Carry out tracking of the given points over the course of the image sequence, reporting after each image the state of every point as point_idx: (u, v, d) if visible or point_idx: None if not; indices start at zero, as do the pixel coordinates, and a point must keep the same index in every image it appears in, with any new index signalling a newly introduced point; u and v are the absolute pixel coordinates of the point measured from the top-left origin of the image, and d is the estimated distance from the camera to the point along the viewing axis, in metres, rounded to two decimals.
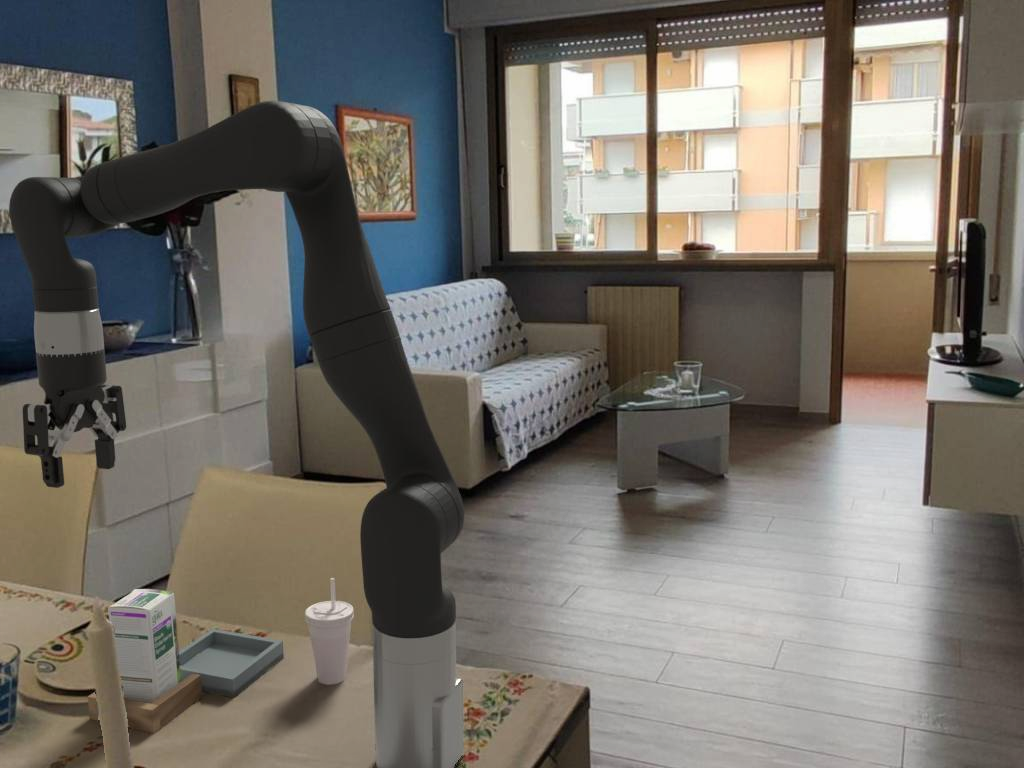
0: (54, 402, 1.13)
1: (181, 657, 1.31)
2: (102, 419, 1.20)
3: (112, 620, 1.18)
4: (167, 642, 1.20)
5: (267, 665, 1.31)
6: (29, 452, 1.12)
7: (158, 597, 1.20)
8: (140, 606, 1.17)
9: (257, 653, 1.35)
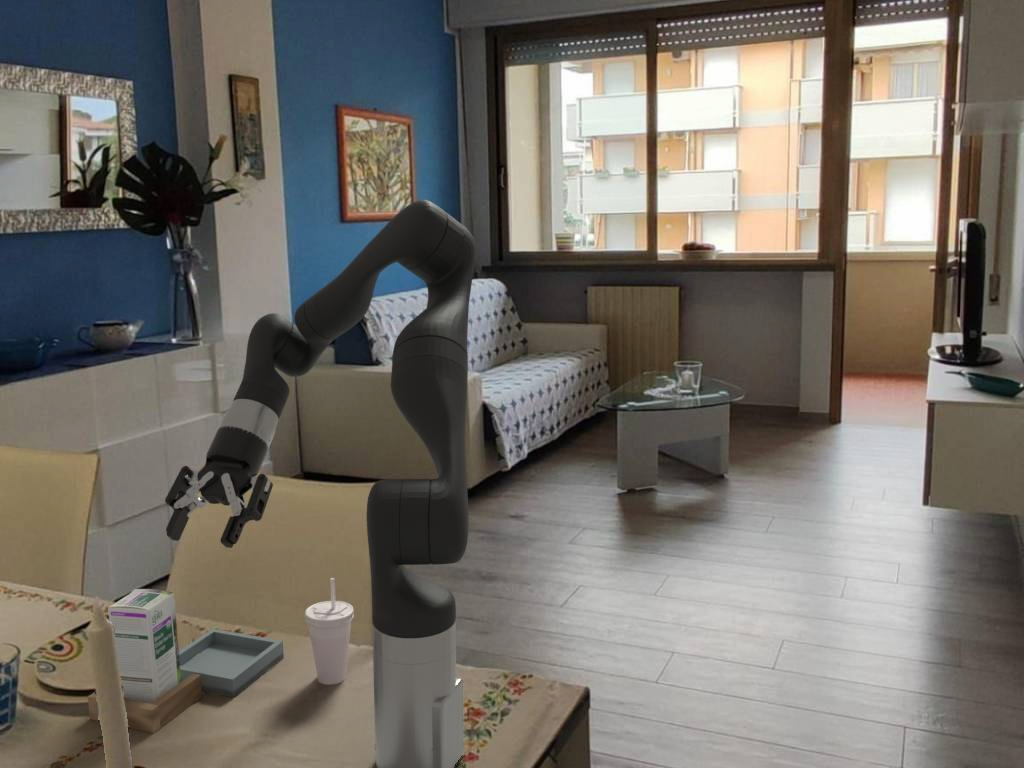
0: None
1: (181, 657, 1.31)
2: None
3: (112, 620, 1.18)
4: (167, 642, 1.20)
5: (267, 665, 1.31)
6: (255, 512, 1.29)
7: (158, 597, 1.20)
8: (140, 606, 1.17)
9: (257, 653, 1.35)
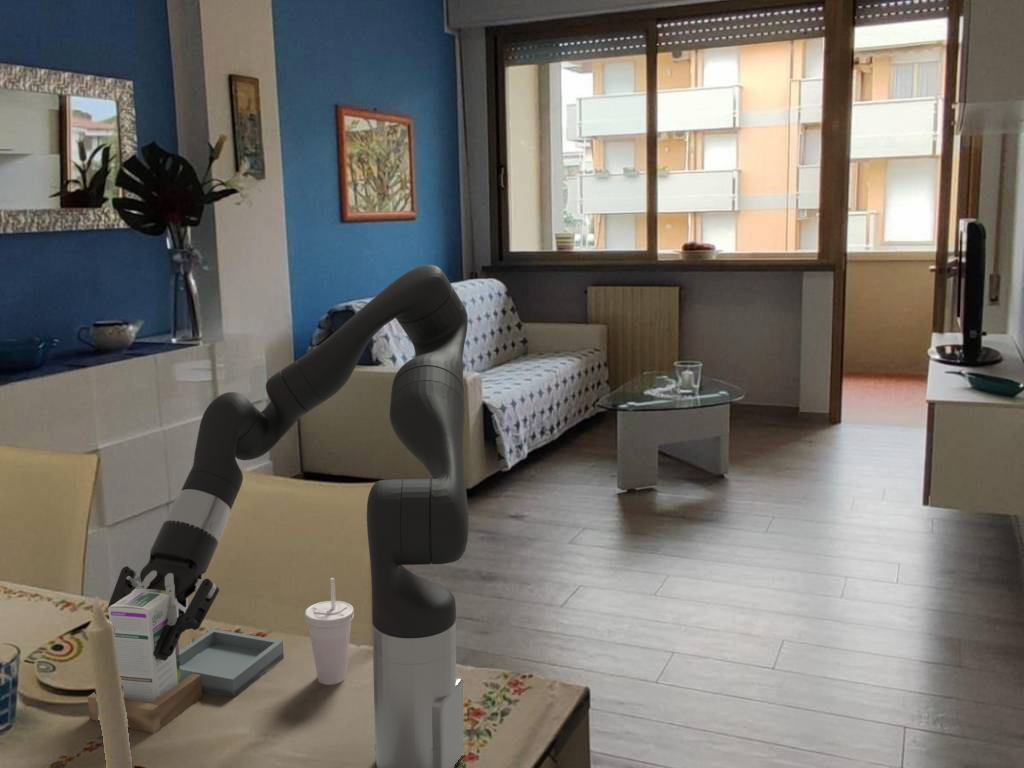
0: (201, 580, 1.24)
1: (181, 657, 1.31)
2: None
3: (112, 620, 1.18)
4: None
5: (267, 665, 1.31)
6: (192, 622, 1.19)
7: (158, 597, 1.20)
8: (140, 606, 1.17)
9: (257, 653, 1.35)
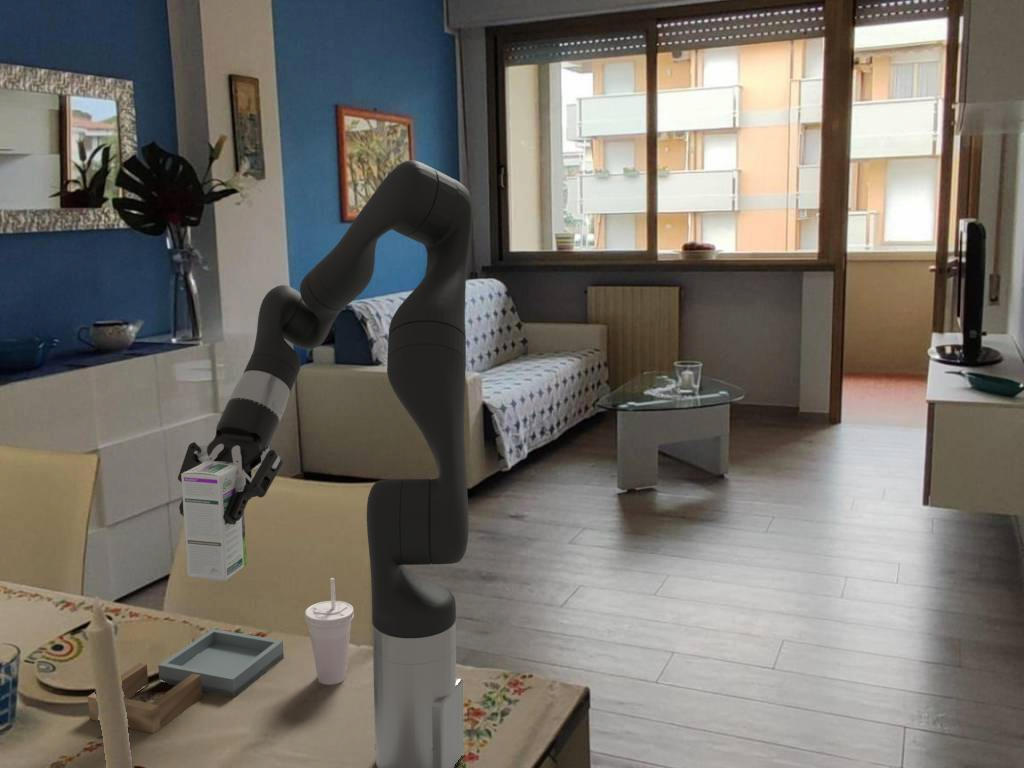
0: None
1: (181, 657, 1.31)
2: None
3: (185, 485, 1.24)
4: None
5: (267, 665, 1.31)
6: (259, 488, 1.26)
7: (227, 467, 1.26)
8: (212, 472, 1.24)
9: (257, 653, 1.35)
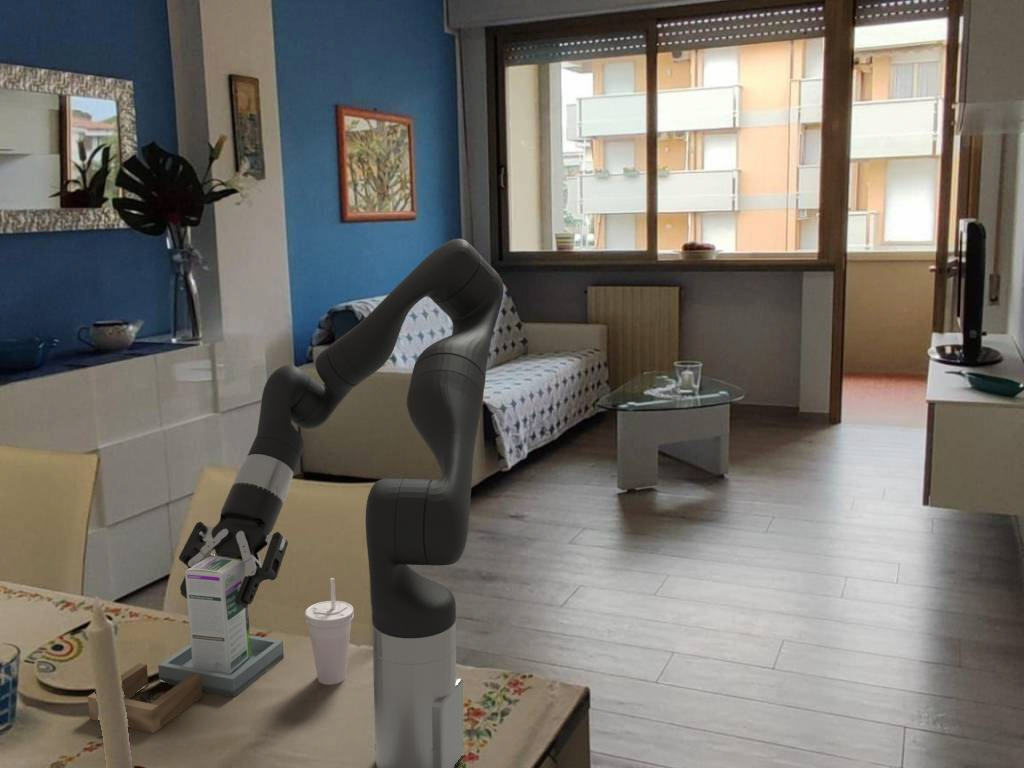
0: None
1: (181, 657, 1.31)
2: None
3: (188, 582, 1.27)
4: None
5: (267, 665, 1.31)
6: (270, 572, 1.28)
7: (230, 563, 1.29)
8: (214, 570, 1.26)
9: (257, 653, 1.35)
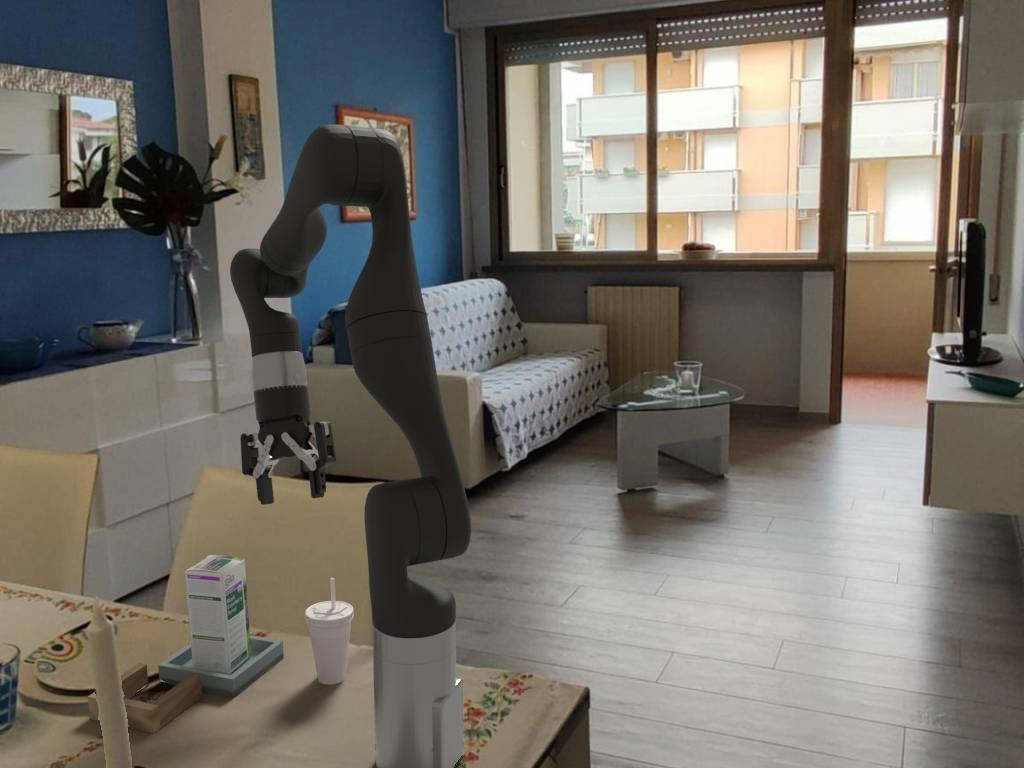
0: None
1: (181, 657, 1.31)
2: None
3: (188, 582, 1.27)
4: (238, 604, 1.30)
5: (267, 665, 1.31)
6: (329, 460, 1.33)
7: (230, 563, 1.29)
8: (214, 570, 1.26)
9: (257, 653, 1.35)
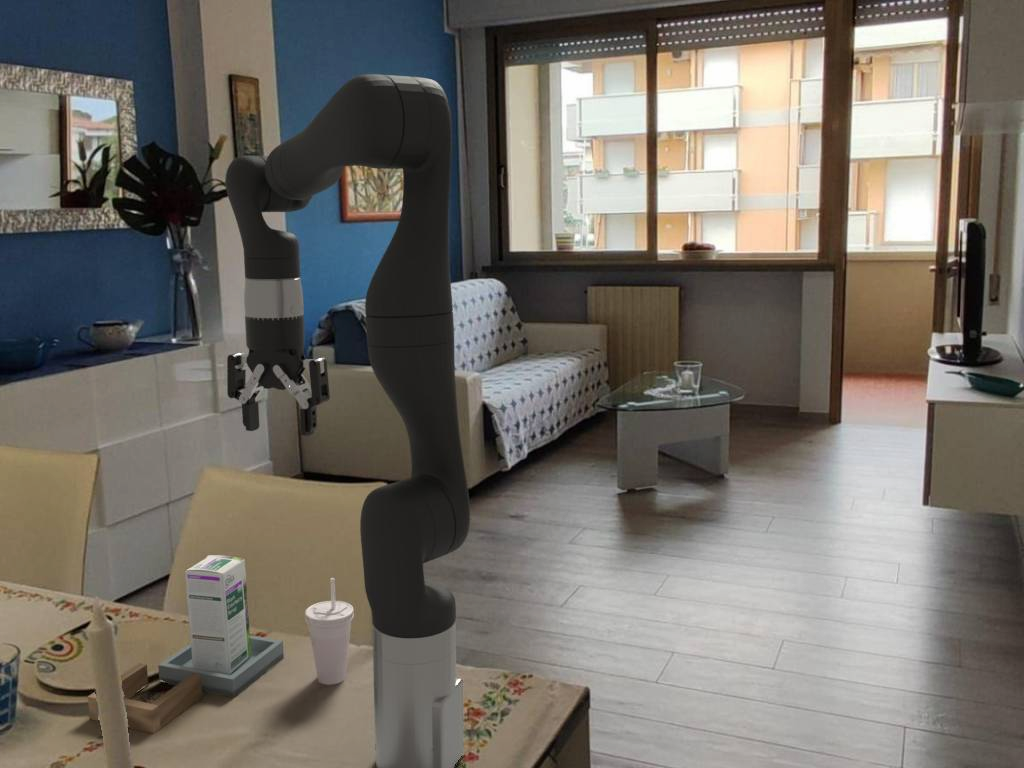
0: None
1: (181, 657, 1.31)
2: None
3: (188, 582, 1.27)
4: (238, 604, 1.30)
5: (267, 665, 1.31)
6: (322, 401, 1.26)
7: (230, 563, 1.29)
8: (214, 570, 1.26)
9: (257, 653, 1.35)
